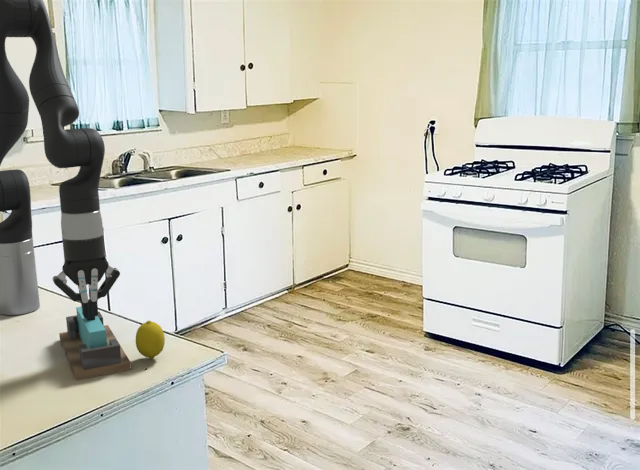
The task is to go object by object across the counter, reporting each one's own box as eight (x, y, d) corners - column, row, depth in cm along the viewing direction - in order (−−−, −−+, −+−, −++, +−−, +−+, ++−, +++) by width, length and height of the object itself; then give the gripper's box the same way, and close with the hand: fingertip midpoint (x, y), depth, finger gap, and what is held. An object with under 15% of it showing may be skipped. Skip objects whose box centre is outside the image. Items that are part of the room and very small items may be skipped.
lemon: (151, 367, 131) (148, 327, 129) (130, 360, 134) (128, 322, 132) (171, 357, 135) (169, 319, 134) (151, 351, 138) (149, 313, 136)
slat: (78, 334, 143) (76, 307, 142) (93, 331, 145) (91, 305, 143) (92, 362, 130) (89, 332, 128) (108, 359, 131) (105, 329, 129)
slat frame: (59, 339, 144) (57, 317, 143) (108, 331, 149) (106, 309, 148) (75, 380, 125) (73, 354, 124) (131, 369, 130) (129, 344, 129)
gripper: (114, 226, 138) (120, 307, 142) (43, 233, 132) (52, 318, 136) (121, 233, 131) (128, 319, 135) (48, 241, 125) (57, 330, 129)
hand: (90, 318), depth 135 cm, fingers closed
